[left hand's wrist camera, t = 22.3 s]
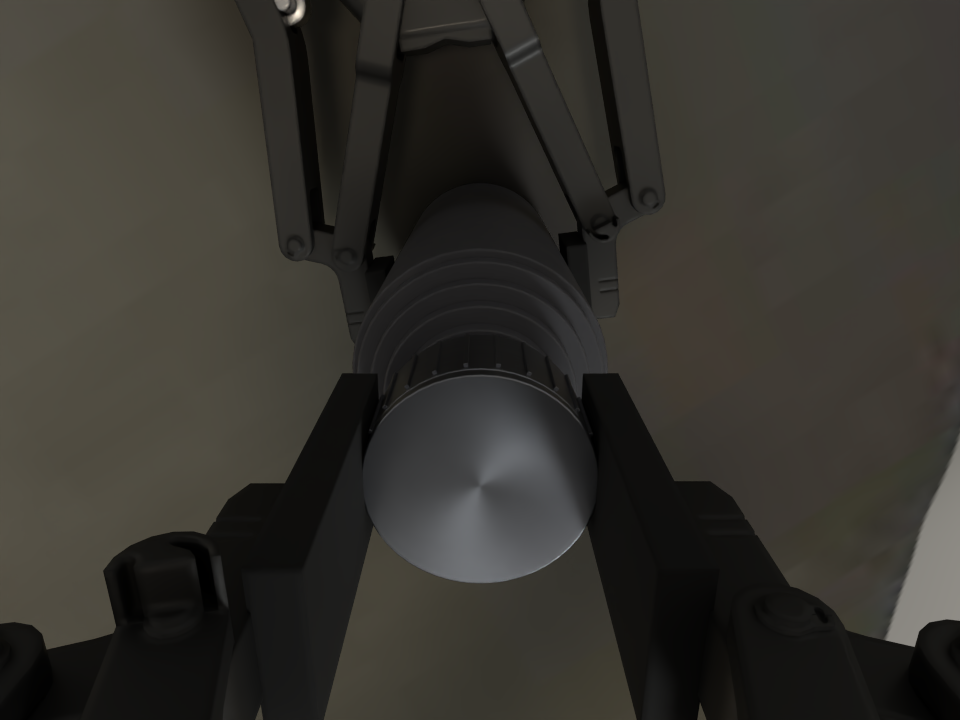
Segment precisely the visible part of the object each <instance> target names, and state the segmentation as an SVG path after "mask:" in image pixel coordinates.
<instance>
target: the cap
mask: <svg viewBox="0 0 960 720" xmlns="http://www.w3.org/2000/svg"><path fill="white" fill-rule="evenodd" d="M368 433H369V434H371V435H370V438H369V441H368V444H367V447H366V450H365V453H364V456H363V462H362V473H363V488H364V501H365V507H366V510H367V513H368V515H369V517H370V519H371V522H372V524H373V525H374V527H375V528H376V530H377V532H378V533H379V535H380V536H381V537H382V538H383V540H384V541H385V542H386V543H387V545H388V546H389V547H390V548H392V549H393V550H394V551H395V552H396V553H397V554H398V555H399V556H401V557H402V558H403V559H405V560H406V561H407V562H409V563H410V564H412V565H414V566H416V567H417V568H419V569H421V570H423V571H425V572H428V573H430V574H433V575H435V576H438V577H442V578H445V579H449V580H454V581H459V582H467V583H494V582H501V581H508V580H511V579H515V578H519V577H522V576H525V575H528V574H530V573H533V572H535V571H537V570H539V569H541V568H543V567H545V566H547V565H548V564H550V563H551V562H553V561H554V560H556V559H557V558H559V557H560V556H561V555H562V554H563V553H564V552H566V551H567V550H568V549H569V548H570V547H571V546H572V545H573V544H574V542H575V541H576V540H577V539H578V538H579V537H580V535H581V534H582V532H583V531H584V529H585V528H586V526H587V524H588V522H589V520H590V518H591V516H592V514H593V511H594V508H595V505H596V494H597V479H598V459H597V456H596V452H595V449H594V445H593V442H592V440H591V437H593V436H594V435H593V432H592V430H591V427H590V424H589V421H588V418H587V415H586V412H585V409H584V407H583V404H582V401H581V398H580V397H578V398H577V396H576V394H575V391H574V389H573V387H572V384H571V381H570V378H569V376H568V375H567V374H566V375H564V374H563V372H562V371H561V370H560V369H559V368H558V367H557V366H556V365H555V364H554V363H553V362H552V361H551V358H550V357H549V356H548V355H547V356H545V355H543V354H542V353H540V352H539V351H537V350H536V349H534V348H532V347H530V346H527V345H526V343H525V342H522V343H521V342H518V341H515V340H512V339H508V338H503V337H499V336H498V335H494V336H490V335H469V334H465V336H462V337H457V338H452V339H449V340H446V341H442V342H441V340H440V341H438V342H437V344H435V345H433V346H431V347H428V348H427V349H425V350H423V351H422V352H420V353H419V354H416V353H415V354H414V355H413V356H412V359H411V360H410V361H408V362H407V363H406V364H405V365H404V366H403V367H402V368H401V369H400V370H399V372H398V373H397V372H395V373H394V374H393V377H392V380H391V382H390V384H389V386H388V388H387V390H386V392H385V394H384V395H383V394H381V396H380V399H379V402H378V405H377V408H376V411H375V413H374V416H373V419H372V422H371V425H370V428H369V431H368Z"/></svg>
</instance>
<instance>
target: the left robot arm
mask: <svg viewBox="0 0 960 720" xmlns="http://www.w3.org/2000/svg"><path fill="white" fill-rule="evenodd" d="M581 401H582V404H583V407H584V409H585V412H586V415H587V418H588V421H589V424H590V427H591V430H592V432H593V435H594V436H593V437H591V440H592V442H593V445H594V449H595V452H596V456H597V459H598V479H597V494H596V505H595V508H594V511H593V514H592V516H591V518H590V520H589V522H588V524H587V527H588V531H589V535H590V539H591V542H592V546H593V550H594V554H595V558H596V562H597V566H598V570H599V574H600V578H601V582H602V585H603V589H604V593H605V597H606V601H607V605H608V609H609V613H610V617H611V621H612V624H613V628H614V632H615V636H616V640H617V644H618V648H619V652H620V656H621V660H622V664H623V667H624V671H625V675H626V679H627V683H628V687H629V691H630V695H631V699H632V703H633V706H634V710H635V714H636V718H637V720H697V718H698V711H699V704H700V703H701V706H702V708H703V711H704V714H705V717H706V719H707V720H960V621H955V620H941V621H935V622H930V623H928V624H927V625H926V626H925V627H924V628H923V629H921V630H920V631H919V634H918V638H917V641H916V645H915V647H912V646H907V645H903V644H898V643H894V642H890V641H885V640H881V639H876V638H872V637H867V636H864V635H860V634H857V633H854V632H850V631H847V630H845V627H844V625H843V624H842V622H841V621H840V619H839V618H838V616H837V615H836V613H835V612H834V611H833V610H832V609H831V608H830V607H828V606H827V605H826V604H825V603H823V602H822V601H821V600H820V599H818V598H817V597H815V596H812V595H810V594H808V593H806V592H804V591H802V590H800V589H798V588H794V587H790V585H789V584H788V582H787V581H786V579H785V578H784V576H783V575H782V573H781V571H780V570H779V568H778V567H777V565H776V564H775V562H774V561H773V559H772V558H771V556H770V555H769V553H768V551H767V550H766V548H765V547H764V545H763V544H762V542H761V541H760V539H759V538H758V536H757V535H755V534H754V530H753V528H752V527H751V525H750V524H749V522H748V521H747V520H745V518H744V514H743V513H742V511H741V510H740V508H739V507H738V505H737V504H736V502H735V501H734V499H733V498H732V497H731V496H730V495H728V494H727V493H726V492H724V491H723V490H721V489H720V488H719V487H717V486H716V485H715V484H713V483H712V482H710V481H674V480H673V478H672V476H671V474H670V472H669V470H668V468H667V466H666V464H665V462H664V461H663V459H662V457H661V455H660V453H659V451H658V449H657V447H656V445H655V443H654V441H653V439H652V437H651V436H650V434H649V432H648V430H647V428H646V426H645V424H644V422H643V420H642V418H641V416H640V414H639V413H638V411H637V409H636V407H635V405H634V403H633V401H632V399H631V397H630V395H629V393H628V391H627V389H626V388H625V386H624V384H623V382H622V380H621V378H620V376H619V374H618V373H583V380H582V398H581ZM378 402H379V391H378V373H342V375H341V377H340V379H339V381H338V383H337V385H336V386H335V388H334V390H333V392H332V394H331V396H330V398H329V400H328V402H327V404H326V406H325V408H324V410H323V411H322V413H321V415H320V417H319V419H318V421H317V423H316V425H315V427H314V429H313V431H312V433H311V434H310V436H309V438H308V440H307V442H306V444H305V446H304V448H303V450H302V452H301V454H300V456H299V458H298V459H297V461H296V463H295V465H294V467H293V469H292V471H291V473H290V475H289V477H288V479H287V481H286V483H250V484H249V485H248V486H246V487H245V488H244V489H242V490H241V491H239V492H238V493H237V494H235V495H234V496H232V497H231V498H230V499H228V501H227V502H226V504H225V505H224V507H223V509H222V510H221V512H220V513H219V515H218V516H217V518H216V522H214V523H213V524H212V526H211V527H210V529H209V530H208V532H207V533H206V535H205V534H201V533H197V532H170V533H166V534H161V535H157V536H152V537H150V538H147V539H145V540H142V541H140V542H138V543H135V544H133V545H131V546H129V547H128V548H126V549H125V550H124V551H122V552H121V553H119V554H118V555H116V556H115V557H114V558H113V559H112V560H111V562H110V563H109V564H108V565H107V567H106V568H105V569H104V571H103V572H104V576H105V581H106V585H107V589H108V593H109V598H110V602H111V606H112V610H113V614H114V619H115V623H116V628H115V631H114V633H113V634H110V635H106V636H103V637H99V638H96V639H92V640H88V641H83V642H79V643H74V644H70V645H65V646H61V647H57V648H52V649H48V650H46V646H45V643H44V639H43V636H42V634H41V633H40V632H39V631H38V630H37V629H36V628H35V627H33V626H32V625H27V624H22V623H16V622H12V623H4V624H0V720H255V718H256V716H257V713H258V710H259V708H260V705H261V708H262V715H263V720H324V716H325V712H326V708H327V704H328V700H329V696H330V692H331V689H332V685H333V681H334V677H335V673H336V669H337V665H338V661H339V657H340V653H341V649H342V646H343V642H344V638H345V634H346V630H347V626H348V622H349V618H350V614H351V610H352V607H353V603H354V599H355V595H356V591H357V587H358V583H359V579H360V575H361V571H362V567H363V564H364V560H365V556H366V552H367V548H368V544H369V540H370V536H371V532H372V528H373V524H372V522H371V519H370V517H369V515H368V513H367V510H366V507H365V501H364V488H363V473H362V462H363V456H364V453H365V450H366V447H367V444H368V441H369V438H370V435H371V434H369V433H368V431H369V428H370V425H371V422H372V419H373V416H374V413H375V411H376V408H377V405H378Z"/></svg>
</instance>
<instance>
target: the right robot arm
mask: <svg viewBox="0 0 960 720" xmlns="http://www.w3.org/2000/svg"><path fill="white" fill-rule="evenodd" d="M340 1H341V2H342V3H343V4H344V5H345V6H346V8H347V9H348V10H349V11H350V12H351V13H352V14H353V15H354V16H355V17H356V19H357V20H358V21H359V22H360V23H361V28H360V35H359V42H358V49H357V56H356V82H355V89H354V96H353V103H352V110H351V117H350V124H349V131H348V138H347V144H346V151H345V158H344V165H343V172H342V179H341V186H340V193H339V200H338V207H337V214H336V221H335V226H330V225H326V224H325V221H324V211H323V202H322V192H321V182H320V172H319V163H318V153H317V143H316V133H315V124H314V114H313V104H312V95H311V85H310V75H309V65H308V57H307V51H306V45H305V41H304V37H303V34H302V31H301V28H300V27H302V26H303V25H305V24H306V23H307V22H308V21H309V19H310V16H311V11H312V8H311V2H310V0H235V2H236V4H237V6H238V9H239V11H240V13H241V15H242V17H243V19H244V22H245V24H246V26H247V28H248V30H249V32H250V35H251V37H252V39H253V45H254V53H255V61H256V68H257V76H258V84H259V92H260V100H261V108H262V115H263V123H264V131H265V139H266V147H267V155H268V162H269V170H270V178H271V186H272V194H273V202H274V209H275V217H276V225H277V233H278V241H279V247H280V250H281V252H282V253H283V255H284V256H285V257H286V258H288V259H290V260H292V261H301V260H308V261H312V262H317V263H321V264H324V265H327V266H328V267H330V268H331V269H332V270H333V271H334V272H335V273H336V275H337V277H338V280H339V284H340V288H341V293H342V298H343V303H344V308H345V312H346V317H347V322H348V327H349V331H350V336H351V339H352V341H353V342H354V344H355V342H356V339H357V335H358V331H359V329H360V326H361V324H362V321H363V319H364V317H365V315H366V313H367V311H368V309H369V308H370V306H371V304H372V302H373V300H374V299H375V297H376V295H377V293H378V291H379V290H380V288H381V286H382V284H383V282H384V281H385V279H386V277H387V275H388V274H389V272H390V270H391V268H392V266H393V265H394V263H395V262H394V256H386V257H379V258H375V259H373V254H372V250H373V249H374V246H375V244H374V237H375V231H376V225H377V219H378V213H379V207H380V201H381V195H382V189H383V183H384V177H385V171H386V164H387V158H388V152H389V146H390V140H391V134H392V128H393V122H394V116H395V110H396V104H397V98H398V92H399V87H400V83H401V80H402V76H403V71H404V65H405V59H406V56H412V55H419V54H426V53H429V52H431V51H434V50H436V49H438V48H440V47H442V46H444V45H447V44H453V45H460V46H467V47H474V46H481V45H488V44H491V42H493V44H494V46H495V48H496V50H497V53H498V55H499V57H500V59H501V61H502V63H503V65H504V67H505V69H506V70H507V72H508V75H509V77H510V79H511V81H512V83H513V85H514V87H515V90H516V92H517V94H518V96H519V98H520V100H521V102H522V105H523V107H524V109H525V111H526V113H527V115H528V118H529V120H530V122H531V124H532V126H533V128H534V130H535V133H536V135H537V137H538V139H539V141H540V143H541V145H542V148H543V150H544V152H545V154H546V156H547V158H548V161H549V163H550V165H551V167H552V169H553V171H554V173H555V176H556V178H557V180H558V182H559V184H560V186H561V189H562V191H563V193H564V195H565V197H566V199H567V201H568V204H569V206H570V208H571V210H572V212H573V214H574V216H575V219H576V221H577V228H578V232H577V231H576V232H569V233H561V234H558V235H559V246H560V253H561V255H562V257H563V259H564V260H565V262H566V264H567V266H568V268H569V269H570V271H571V273H572V275H573V276H574V278H575V280H576V282H577V284H578V285H579V287H580V289H581V291H582V293H583V294H584V296H585V298H586V300H587V302H588V303H589V305H590V307H591V309H592V311H593V313H594V315H595V317H596V319H602V318H610V317H615V315H616V312H617V309H618V306H619V291H618V274H617V258H616V238H617V235H618V233H619V231H620V230H621V228H622V227H623V226H624V225H626V224H628V223H629V222H631V221H633V220H635V219H637V218H639V217H641V216H643V215H650V214H653V213H656V212H658V211H659V210H660V209H661V208H662V206H663V204H664V202H665V188H664V181H663V174H662V167H661V160H660V153H659V146H658V140H657V133H656V126H655V119H654V112H653V105H652V98H651V91H650V84H649V77H648V70H647V63H646V56H645V49H644V42H643V36H642V29H641V22H640V15H639V8H638V1H637V0H588V7H589V16H590V23H591V29H592V35H593V41H594V47H595V53H596V59H597V65H598V70H599V76H600V82H601V88H602V94H603V100H604V106H605V112H606V118H607V124H608V130H609V136H610V142H611V148H612V154H613V160H614V166H615V172H616V178H617V184H618V185H616V186H614V187H612V188H610V189H608V190H606V191H604V188H603V186H602V184H601V182H600V179H599V177H598V175H597V173H596V170H595V168H594V166H593V164H592V161H591V159H590V157H589V155H588V152H587V150H586V148H585V146H584V143H583V141H582V139H581V136H580V134H579V132H578V130H577V127H576V125H575V123H574V121H573V118H572V116H571V114H570V112H569V109H568V107H567V105H566V103H565V100H564V98H563V96H562V94H561V91H560V89H559V87H558V85H557V82H556V80H555V78H554V76H553V73H552V71H551V69H550V67H549V64H548V62H547V60H546V58H545V55H544V53H543V51H542V48H541V44H540V41H539V38H538V36H537V33H536V31H535V29H534V26H533V24H532V22H531V19H530V17H529V15H528V13H527V10H526V8H525V6H524V4H523V2H524V0H340Z"/></svg>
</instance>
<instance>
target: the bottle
mask: <svg viewBox="0 0 960 720" xmlns="http://www.w3.org/2000/svg"><path fill="white" fill-rule="evenodd" d="M465 334H469V335H490V336H494V335H498V336H499V337H503V338H508V339H512V340H515V341H518V342H521V343H522V342H525V343H526V345H527V346H530V347H532V348H534V349H536V350H537V351H539V352H540V353H542V354H543V355H545V356H547V355H548V356H549V357H550V358H551V361H552V362H553V363H554V364H555V365H556V366H557V367H558V368H559V369H560V370H561V371H562V372H563V374H564V375H566V374H567V375H568V376H569V378H570V381H571V384H572V387H573V389H574V391H575V394H576V396H577V398H578V397H580V398H582V380H583V373H608V367H607V352H606V346H605V340H604V337H603V334H602V331H601V328H600V325H599V323H598V321H597V319H596V317H595V315H594V313H593V311H592V309H591V307H590V305H589V303H588V302H587V300H586V298H585V296H584V294H583V293H582V291H581V289H580V287H579V285H578V284H577V282H576V280H575V278H574V276H573V275H572V273H571V271H570V269H569V268H568V266H567V264H566V262H565V260H564V259H563V257H562V255H561V253H560V251H559V250H558V248H557V246H556V244H555V242H554V241H553V239H552V237H551V235H550V234H549V232H548V230H547V228H546V226H545V225H544V223H543V221H542V219H541V218H540V216H539V215H538V213H537V212H536V210H535V209H534V208H533V207H532V206H531V204H530V203H529V202H527V201H526V200H525V199H524V198H523V197H521V196H520V195H518V194H517V193H515V192H513V191H511V190H509V189H507V188H504V187H501V186H498V185H494V184H488V183H474V184H466V185H462V186H459V187H456V188H453V189H451V190H449V191H447V192H445V193H443V194H442V195H440V196H439V197H438V198H436V199H435V200H434V201H433V202H432V203H431V204H430V205H429V206H428V207H427V208H426V209H425V211H424V212H423V213H422V215H421V216H420V218H419V220H418V221H417V223H416V225H415V227H414V229H413V230H412V232H411V234H410V236H409V238H408V239H407V241H406V243H405V245H404V247H403V248H402V250H401V252H400V254H399V256H398V257H397V259H396V261H395V263H394V265H393V266H392V268H391V270H390V272H389V274H388V275H387V277H386V279H385V281H384V282H383V284H382V286H381V288H380V290H379V291H378V293H377V295H376V297H375V299H374V300H373V302H372V304H371V306H370V308H369V309H368V311H367V313H366V315H365V317H364V319H363V321H362V324H361V326H360V329H359V331H358V335H357V339H356V342H355V346H354V355H353V373H378V391H379V399H380V396H381V394H383V395H384V394H385V392H386V390H387V388H388V386H389V384H390V382H391V380H392V377H393V374H394V373H395V372H397V373H398V372H399V370H400V369H401V368H402V367H403V366H404V365H405V364H406V363H407V362H408V361H410V360H411V359H412V356H413V355H414V354H415V353H416V354H419V353H420V352H422V351H423V350H425V349H427V348H428V347H431V346H433V345H435V344H437V342H438V341H440V340H441V342H442V341H446V340H449V339H452V338H457V337H462V336H465Z"/></svg>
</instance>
